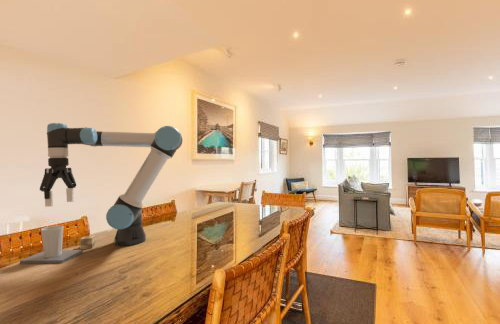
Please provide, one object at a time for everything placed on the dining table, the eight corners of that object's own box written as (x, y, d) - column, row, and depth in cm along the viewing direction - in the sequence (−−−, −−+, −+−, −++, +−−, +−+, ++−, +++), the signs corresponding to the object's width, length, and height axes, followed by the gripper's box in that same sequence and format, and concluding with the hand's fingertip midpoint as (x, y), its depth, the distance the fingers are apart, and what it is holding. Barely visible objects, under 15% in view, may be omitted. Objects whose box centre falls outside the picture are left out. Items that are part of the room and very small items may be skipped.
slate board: (82, 252, 123) (82, 250, 123) (62, 263, 110) (61, 260, 110) (45, 252, 123) (45, 250, 123) (20, 263, 110) (20, 260, 110)
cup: (52, 258, 112) (51, 230, 112) (36, 257, 114) (36, 229, 114) (68, 252, 120) (68, 225, 120) (54, 251, 121) (53, 225, 121)
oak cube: (94, 245, 134) (94, 235, 134) (92, 248, 129) (92, 238, 129) (83, 246, 132) (83, 236, 132) (80, 249, 128) (80, 239, 128)
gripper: (68, 158, 133) (70, 200, 133) (27, 157, 109) (29, 209, 109) (83, 157, 134) (85, 199, 134) (45, 156, 109) (47, 208, 109)
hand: (60, 204), depth 121 cm, fingers open, 13 cm apart
